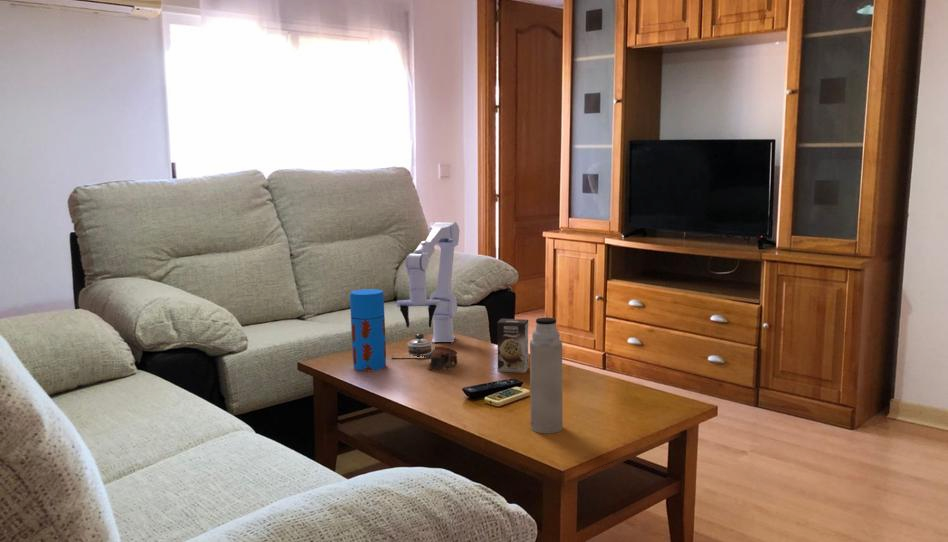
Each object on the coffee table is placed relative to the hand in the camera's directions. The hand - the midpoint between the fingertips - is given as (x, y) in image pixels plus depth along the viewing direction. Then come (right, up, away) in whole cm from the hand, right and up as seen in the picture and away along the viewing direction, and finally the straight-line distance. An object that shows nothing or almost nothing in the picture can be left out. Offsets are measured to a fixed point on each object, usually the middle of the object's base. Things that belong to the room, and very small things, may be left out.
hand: (419, 326), depth 271 cm
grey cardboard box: (+32, -12, -21) cm, 40 cm away
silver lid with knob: (0, -6, +1) cm, 6 cm away
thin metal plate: (0, -10, +1) cm, 10 cm away
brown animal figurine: (+9, -13, -18) cm, 24 cm away
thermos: (-15, -12, -14) cm, 24 cm away
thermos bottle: (+37, -20, -75) cm, 86 cm away
